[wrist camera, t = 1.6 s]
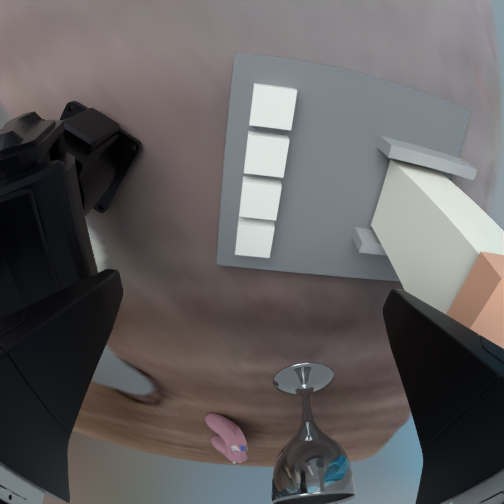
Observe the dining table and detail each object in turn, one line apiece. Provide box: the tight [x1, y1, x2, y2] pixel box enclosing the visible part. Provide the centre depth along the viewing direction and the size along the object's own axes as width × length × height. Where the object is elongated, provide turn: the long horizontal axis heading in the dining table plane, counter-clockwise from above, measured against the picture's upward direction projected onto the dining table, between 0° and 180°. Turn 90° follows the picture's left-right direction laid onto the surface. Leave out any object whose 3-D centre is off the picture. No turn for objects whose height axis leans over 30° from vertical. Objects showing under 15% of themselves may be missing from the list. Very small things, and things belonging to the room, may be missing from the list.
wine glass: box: [271, 363, 356, 504], centre depth 29 cm, size 8×8×15 cm
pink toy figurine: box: [205, 413, 248, 464], centre depth 41 cm, size 10×5×7 cm, turn 0°
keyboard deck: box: [216, 52, 477, 282], centre depth 20 cm, size 16×15×3 cm
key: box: [371, 159, 504, 349], centre depth 15 cm, size 5×6×12 cm
